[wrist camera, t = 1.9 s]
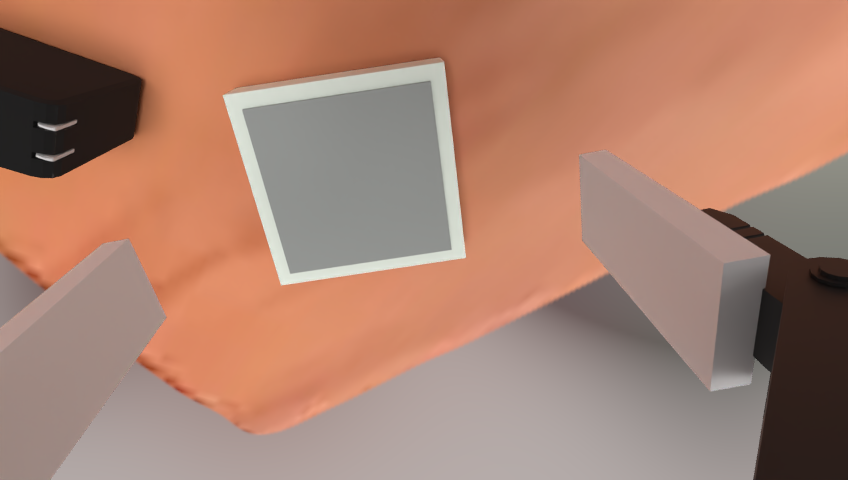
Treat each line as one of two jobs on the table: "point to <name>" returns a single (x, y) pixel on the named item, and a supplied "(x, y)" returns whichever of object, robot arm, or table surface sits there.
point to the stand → (352, 169)
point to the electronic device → (60, 107)
